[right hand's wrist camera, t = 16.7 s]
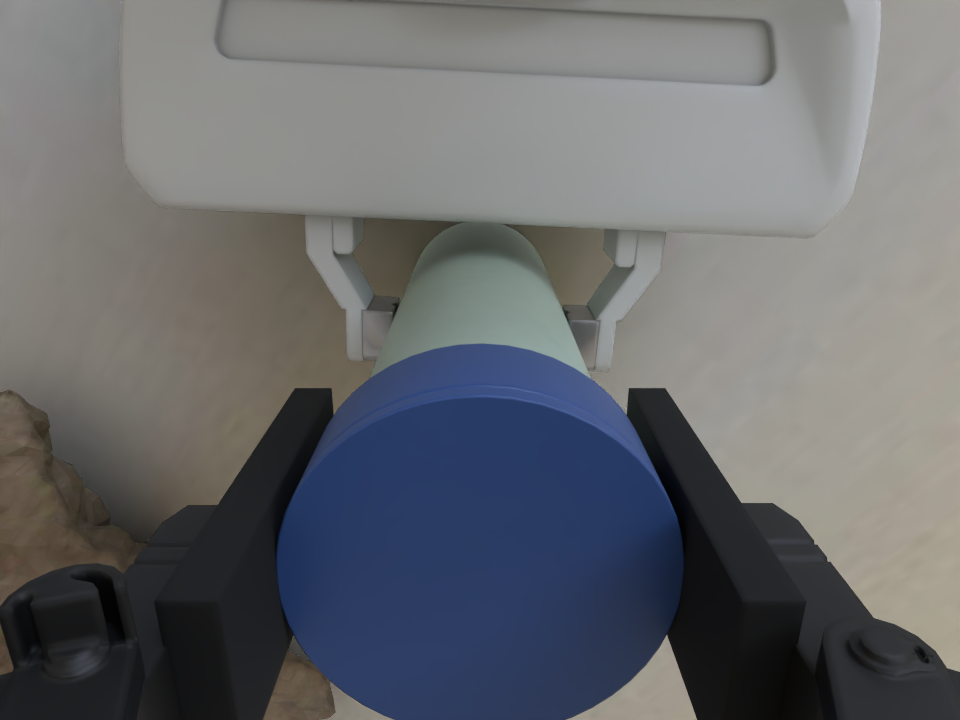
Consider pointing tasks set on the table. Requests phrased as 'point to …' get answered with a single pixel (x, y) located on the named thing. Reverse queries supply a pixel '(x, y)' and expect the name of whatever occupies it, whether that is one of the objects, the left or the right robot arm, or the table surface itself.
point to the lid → (480, 541)
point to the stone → (91, 541)
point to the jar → (479, 298)
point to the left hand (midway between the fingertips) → (480, 360)
